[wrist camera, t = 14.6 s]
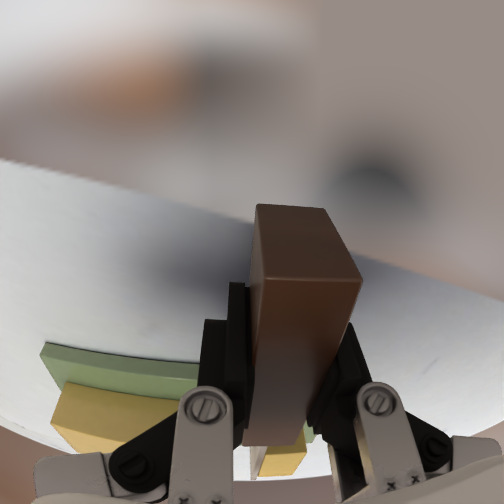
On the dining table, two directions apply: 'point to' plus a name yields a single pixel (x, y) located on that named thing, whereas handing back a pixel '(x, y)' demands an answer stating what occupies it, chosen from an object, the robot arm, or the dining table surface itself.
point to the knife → (294, 318)
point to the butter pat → (283, 458)
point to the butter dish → (125, 373)
